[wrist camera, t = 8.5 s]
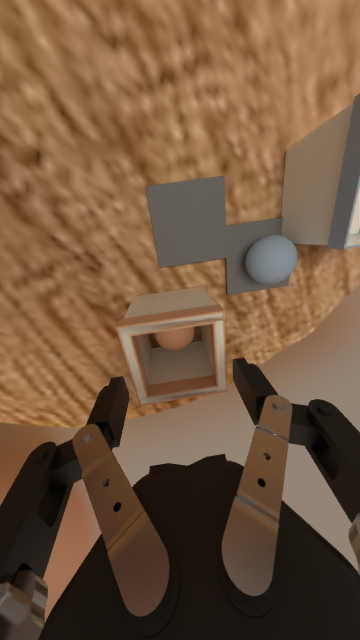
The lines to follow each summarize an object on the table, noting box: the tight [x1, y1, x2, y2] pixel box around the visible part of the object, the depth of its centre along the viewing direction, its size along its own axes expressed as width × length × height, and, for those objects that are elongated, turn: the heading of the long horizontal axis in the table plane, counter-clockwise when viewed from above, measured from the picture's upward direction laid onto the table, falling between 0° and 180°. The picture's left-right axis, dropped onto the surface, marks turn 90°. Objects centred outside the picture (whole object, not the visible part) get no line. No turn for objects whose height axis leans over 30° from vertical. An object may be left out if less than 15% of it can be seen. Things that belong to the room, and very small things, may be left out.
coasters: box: [146, 176, 289, 295], centre depth 19 cm, size 11×14×1 cm
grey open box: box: [116, 286, 227, 406], centre depth 19 cm, size 8×8×8 cm
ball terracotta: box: [154, 327, 195, 351], centre depth 20 cm, size 4×4×4 cm
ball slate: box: [245, 235, 297, 284], centre depth 18 cm, size 4×4×4 cm
